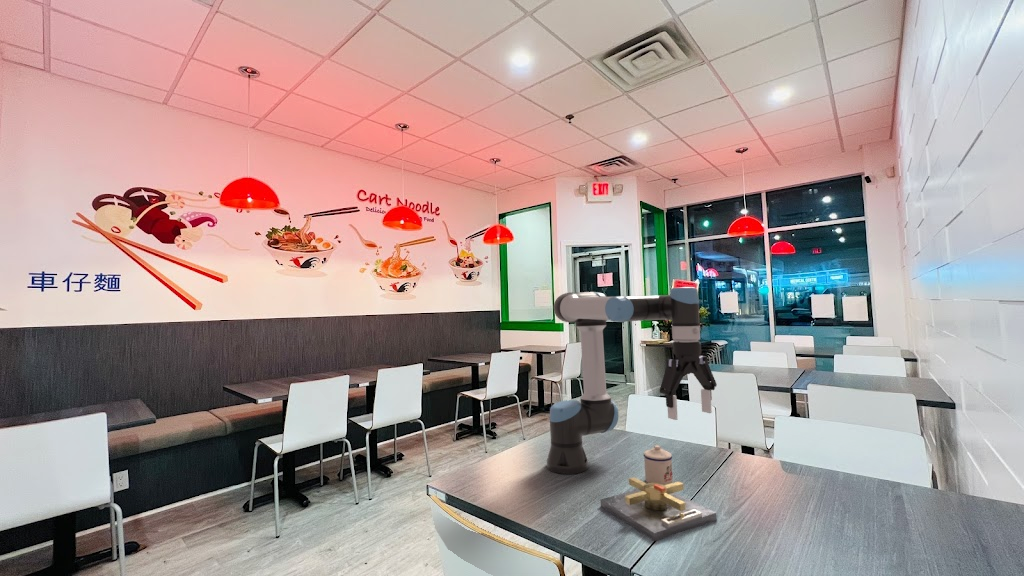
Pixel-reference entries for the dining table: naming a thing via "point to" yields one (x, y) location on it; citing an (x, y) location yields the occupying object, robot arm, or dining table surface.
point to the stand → (658, 516)
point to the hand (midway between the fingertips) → (690, 415)
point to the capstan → (655, 495)
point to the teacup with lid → (658, 466)
